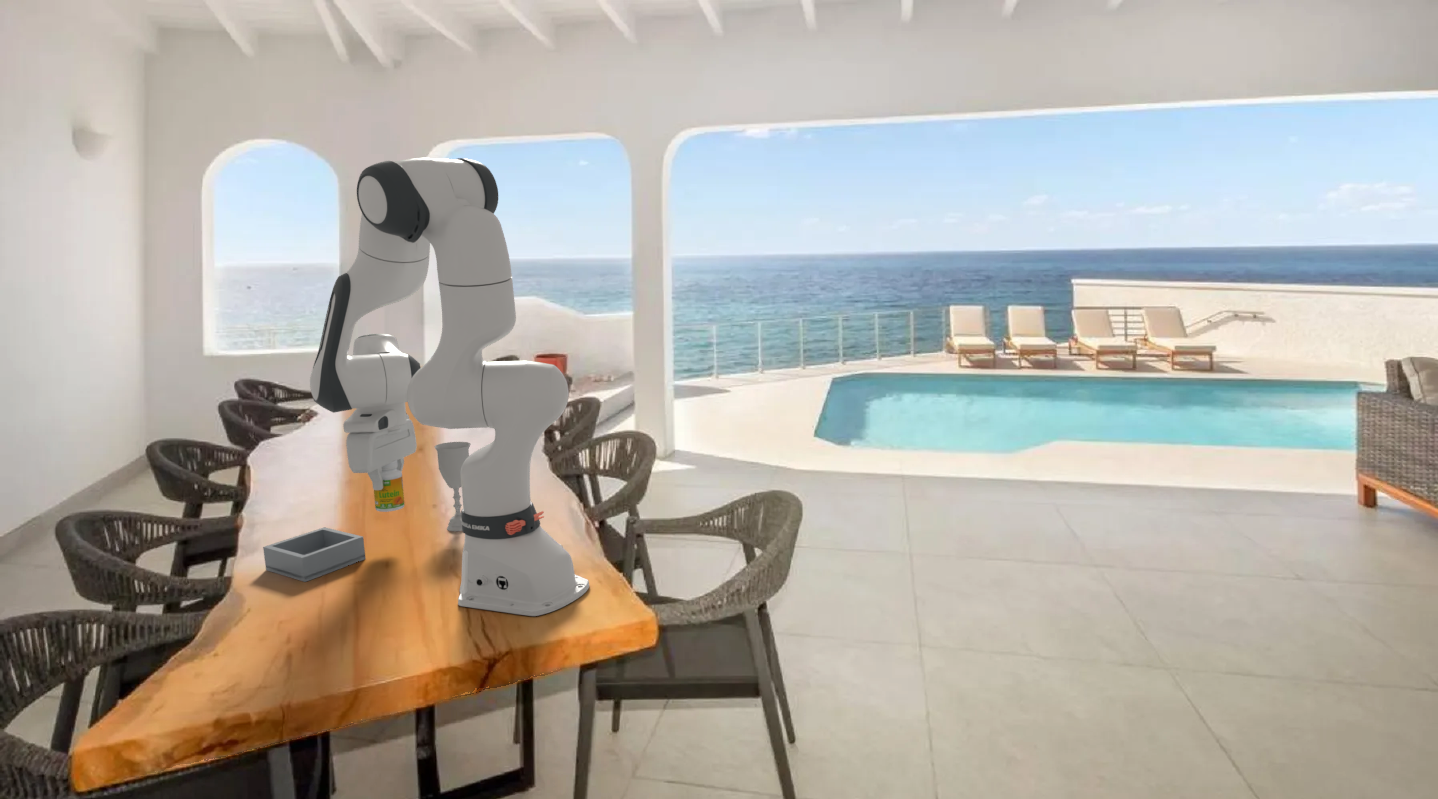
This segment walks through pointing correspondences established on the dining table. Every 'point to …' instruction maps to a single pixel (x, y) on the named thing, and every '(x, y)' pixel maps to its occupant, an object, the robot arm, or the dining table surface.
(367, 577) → the dining table surface
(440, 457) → the chalice
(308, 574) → the tray
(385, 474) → the supplement bottle
